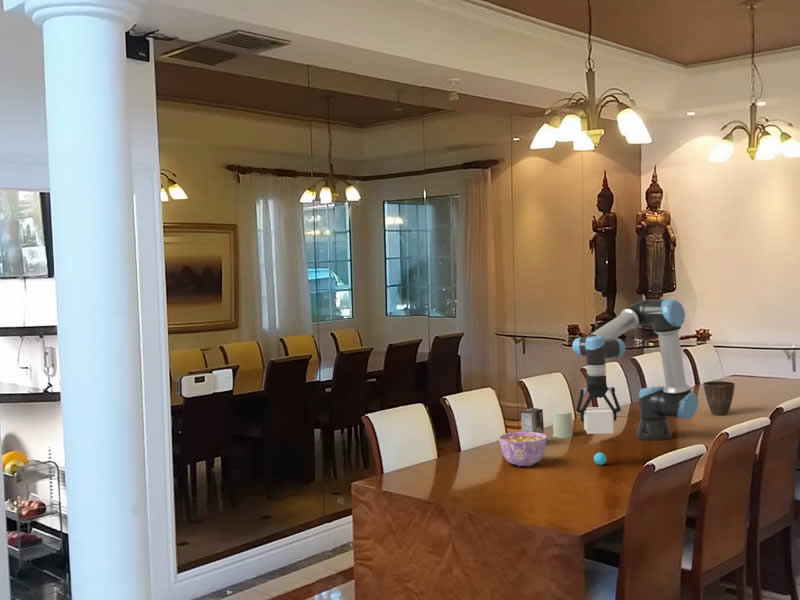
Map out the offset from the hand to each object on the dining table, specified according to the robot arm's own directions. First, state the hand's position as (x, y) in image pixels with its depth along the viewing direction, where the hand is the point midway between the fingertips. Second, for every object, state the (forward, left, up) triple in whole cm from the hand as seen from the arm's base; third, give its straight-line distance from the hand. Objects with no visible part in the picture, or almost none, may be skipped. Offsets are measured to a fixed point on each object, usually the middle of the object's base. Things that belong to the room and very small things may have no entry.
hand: (599, 429), depth 327 cm
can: (+13, -56, -15) cm, 59 cm away
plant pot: (-68, -99, -15) cm, 121 cm away
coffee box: (+27, -39, -15) cm, 50 cm away
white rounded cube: (0, 0, -1) cm, 1 cm away
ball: (0, 0, -12) cm, 12 cm away
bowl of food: (+31, -3, -15) cm, 34 cm away
